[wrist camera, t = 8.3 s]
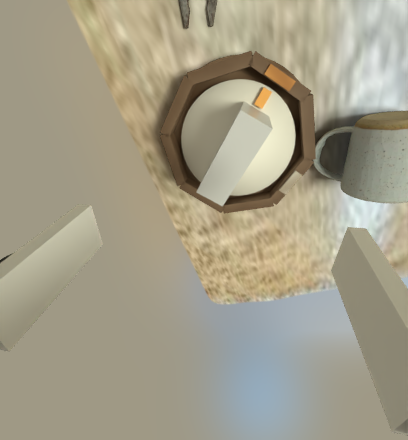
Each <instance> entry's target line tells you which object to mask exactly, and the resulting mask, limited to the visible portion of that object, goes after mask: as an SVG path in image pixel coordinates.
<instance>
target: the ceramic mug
mask: <svg viewBox="0 0 408 440" xmlns="http://www.w3.org/2000/svg"><path fill="white" fill-rule="evenodd" d="M343 132H350V133H351V137H350V142H349V147H348V153H347V158H346V161H345V165H344V170H343V174H342V175H340V174H335V173H332V172H330V171H328V170H326V169H325V168H324V167H322V165H321V164H320V160H319V159H320V155H321V150H322V148H323V146H324V145H325V140H326V138H328V137H329V136H331V135H333V134H337V133H343ZM315 153H316V159H314V160H313V161H314V163H313V164H314V166H315V168H316V169H317V170H318V171H319V172H320V173H321V174H322V175H324V176H326V177H328V178H330V179H333V180H337V181H341V189H342V191H343V192H344V193H346V194H347V195H350V196H352V197H354V198H357V199H361V200H365V201H371V202H377V203H405V202H408V111H394V112H383V113H376V114H370V115H367V116H364V117H362V118H361V119H359V120H358V121H357V122H356V124H355V125H354V126H353V127H347V126H346V127H341V128H336V129H333V130H331V131H329V132H327V133H326V134H324V135H323V136H322V137H321V138H320V140H319V141H318V142H317V143H316V146H315Z"/></svg>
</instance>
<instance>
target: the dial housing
mask: <svg viewBox="0 0 408 440" xmlns="http://www.w3.org/2000/svg"><path fill="white" fill-rule="evenodd" d="M235 79H247V80H253V81H256V82H259V83H262V84H264V85H266V86H268V87H269V88H271V89H272V90H273V91H275V92H276V93H277V94H278V95H279V96H280V97H281V98H282V99H283V101H284V102H285V103H286V105H287V106H288V108H289V110H290V112H291V115H292V118H293V120H294V125H295V135H296V137H295V146H294V151H293V154H292V157H291V160H290V162H289V164H288V166H287V167H286V169H285V170H284V172H283V173H282V174H281V175H280V177H279V178H278V179H277V180H275V181H274V182H273V183H272V184H271V185H269V186H268V187H266V188H264V189H262V190H260V191H258V192H255V193H252V194H248V195H240V196H233V195H230V196H229V197H228V199H227V200H226V202H225V203H224V205H223V206H221V205H219V204H217V203H215V202H213V201H211V200H210V199H208V198H206V197H204V196H202V195H200V194H198V193H197V190H198V188H199V186H200V184H201V182H200V181H199V180H198V179H197V178H196V177H195V176H194V175H193V173H192V172H191V171H190V169H189V167H188V165H187V163H186V161H185V158H184V155H183V151H182V144H181V135H182V128H183V123H184V120H185V117H186V115H187V113H188V111H189V109H190V107H191V106H192V104H193V103H194V102H195V101H196V99H197V98H198V97H199V96H200V95H201V94H203V93H204V92H205V91H206V90H208V89H209V88H211V87H212V86H215V85H217V84H219V83H222V82H225V81H228V80H235ZM310 92H311V90H309V89H308V88H306V87H305V86H304V85H302V84H301V83H300V82H299V81H298V80H297V79H296V77H295V76H294V75H293V74H292V73H290V72H289V71H288V70H287V69H286V68H285V67H283V66H281V65H280V64H278V63H276V62H274V61H272V60H269V59H267V58H264V57H263V56H261V55H260V54H259V53H257V52H256V51H255V53H254V55H252V51H249V52H246V53H243V54H240V55H231V56H227V57H223V58H219V59H217V60H215V61H212V62H210V63H208V64H207V65H205V66H203V67H202V68H200V69H197V70H194V71H191V72H188V73H187V75H185V76H184V77H183V79H182V82H181V84H180V86H179V89H178V91H177V93H176V96H175V98H174V100H173V103H172V105H171V108H170V110H169V112H168V115H167V117H166V119H165V122H164V124H163V126H162V129H161V131H160V133H162V135H160V137H161V140H162V143H163V146H164V149H165V152H166V155H167V157H168V160H169V163H170V166H171V169H172V172H173V174H174V177H175V180H176V183H177V186H179V185H181V186H180V189H182V190H184V191H185V192H187V193H189V194H190V195H192V196H194V197H195V198H197V199H199V200H200V201H202V202H204V203H205V204H207V205H209V206H211V207H212V208H214V209H216V210H217V211H219V212H222V211H223V212H224V213H230V212H237V211H244V210H251V209H257V208H264V207H271V206H274V205H273V203H274V204H276V205H277V204H278V202H279V201H280V200H281V199H282V198H283V197H284V196H285V195H286V194H287V192H288V191H289V190H290V189H291V188H292V187H293V186H294V185H295V183H296V182H297V181H298V180H299V179H300V178H301V177H302V176H303V175H304V173H305V172H306V171H307V170H308V169H309V168H310V167H311V166H312V165H313V163H314V161H313V160H314V159H316V153H315V123H314V104H313V94H310Z"/></svg>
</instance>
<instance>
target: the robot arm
mask: <svg viewBox="0 0 408 440" xmlns="http://www.w3.org/2000/svg"><path fill="white" fill-rule="evenodd" d="M102 245H103V242H102V239H101V236H100V233H99V230H98V226H97V223H96V220H95V216H94V213H93V210H92V207H91V205H83V204H78V205H77V206H75V207H74V208H73V209H71V210H70V211H69V212H68V213H67V214H65V215H64V216H62V217H61V218H60V219H58V220H57V221H56V222H54V223H53V224H52V225H50V226H49V227H48V228H47V229H45V230H44V231H42V232H41V233H40V234H39V235H37V236H36V237H34V238H33V239H32V240H31V241H29V242H28V243H26V244H25V245H24V246H22V247H21V248H20V249H19V250H17V251H16V252H14V253H13V254H10V255H8V256H6V257H4V258H3V259H1V260H0V350H4V351H10V350H11V349H12V348H13V347H14V346H15V344H16V343H17V342H18V341H19V340H20V339H21V338H22V336H23V335H24V334H25V333H26V332H27V331H28V330H29V328H30V327H31V326H32V325H33V324H34V323H35V322H36V321H37V319H38V318H39V317H40V316H41V314H43V313H44V311H45V310H46V309H47V308H48V307H49V306H50V305H51V303H52V302H53V301H54V300H55V299H56V298H57V297H58V295H59V294H60V293H61V292H62V291H63V290H64V288H65V287H66V286H67V285H68V284H69V283H70V282H71V281H72V279H73V278H74V277H75V276H76V275H77V274H78V272H79V271H80V270H81V269H82V268H83V267H84V266H85V264H86V263H87V262H88V261H89V260H90V259H91V258H92V257H93V255H94V254H95V253H96V252H97V251H98V250H99V249H100V248H101V246H102ZM331 271H332V274H333V277H334V279H335V282H336V285H337V287H338V290H339V292H340V295H341V298H342V300H343V303H344V306H345V308H346V311H347V314H348V316H349V319H350V322H351V324H352V327H353V330H354V332H355V335H356V337H357V340H358V343H359V346H360V348H361V351H362V353H363V356H364V359H365V362H366V364H367V367H368V369H369V372H370V375H371V377H372V380H373V383H374V386H375V388H376V391H377V393H378V396H379V398H380V401H381V404H382V407H383V409H384V412H385V415H386V417H387V420H388V423H389V425H390V428H391V431H392V432H394V433H399V434H404V435H408V289H407V287H406V286H405V284H404V283H403V281H402V280H401V278H400V277H399V276H398V274H397V273H396V271H395V270H394V268H393V267H392V265H391V264H390V263H389V261H388V260H387V258H386V257H385V255H384V254H383V253H382V251H381V250H380V248H379V247H378V245H377V244H376V242H375V241H374V240H373V238H372V237H371V235H370V234H369V232H368V231H367V229H364V228H352V227H348V228H347V231H346V233H345V236H344V238H343V241H342V244H341V246H340V249H339V252H338V254H337V257H336V259H335V262H334V265H333V267H332V270H331Z"/></svg>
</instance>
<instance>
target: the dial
mask: <svg viewBox="0 0 408 440" xmlns="http://www.w3.org/2000/svg"><path fill="white" fill-rule="evenodd" d="M295 137H296V135H295V125H294V120H293V118H292V115H291V112H290V110H289V108H288V106H287V105H286V103H285V102H284V101H283V99H282V98H281V97H280V96H279V95H278V94H277V93H276V92H275V91H273V90H272V89H271V88H269V87H268V86H266V85H264V84H262V83H259V82H256V81H253V80H247V79H235V80H228V81H225V82H222V83H219V84H217V85H215V86H212V87H211V88H209V89H208V90H206V91H205V92H204V93H203V94H201V95H200V96H199V97H198V98H197V99H196V101H195V102H194V103H193V104H192V106H191V107H190V109H189V111H188V113H187V115H186V117H185V120H184V123H183V128H182V135H181V144H182V151H183V155H184V158H185V161H186V163H187V165H188V167H189V169H190V171H191V172H192V173H193V175H194V176H195V177H196V178H197V179H198V180H199V181H200V182H201V184H200V186H199V188H198V190H197V193H198V194H200V195H202V196H204V197H206V198H208V199H210V200H211V201H213V202H215V203H217V204H219V205H221V206H223V205H224V203H225V202H226V200H227V199H228V197H229V196H230V195H233V196H240V195H248V194H252V193H255V192H258V191H260V190H262V189H264V188H266V187H268V186H269V185H271V184H272V183H273V182H274V181H275V180H277V179H278V178H279V177H280V175H281V174H282V173H283V172H284V170H285V169H286V167H287V166H288V164H289V162H290V160H291V157H292V154H293V151H294V146H295Z"/></svg>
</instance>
